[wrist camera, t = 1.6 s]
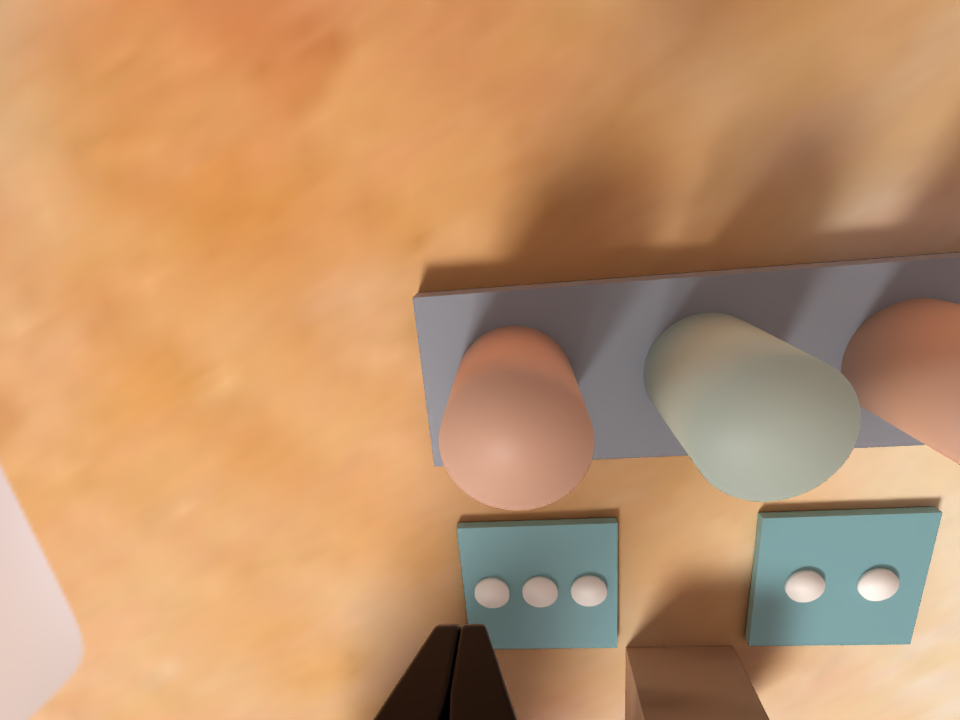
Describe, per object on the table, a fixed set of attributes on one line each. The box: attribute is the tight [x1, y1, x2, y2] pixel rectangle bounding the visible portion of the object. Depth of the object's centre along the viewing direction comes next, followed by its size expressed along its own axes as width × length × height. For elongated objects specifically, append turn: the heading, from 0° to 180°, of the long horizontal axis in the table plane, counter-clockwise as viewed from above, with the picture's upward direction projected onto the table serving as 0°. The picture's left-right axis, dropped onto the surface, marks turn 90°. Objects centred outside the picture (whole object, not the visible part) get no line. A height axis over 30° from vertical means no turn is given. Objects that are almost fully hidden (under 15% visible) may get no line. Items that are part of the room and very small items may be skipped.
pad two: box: [745, 507, 942, 646], centre depth 21 cm, size 7×7×1 cm
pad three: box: [457, 517, 618, 649], centre depth 22 cm, size 7×7×1 cm
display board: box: [413, 252, 960, 511], centre depth 16 cm, size 7×21×6 cm, turn 95°
